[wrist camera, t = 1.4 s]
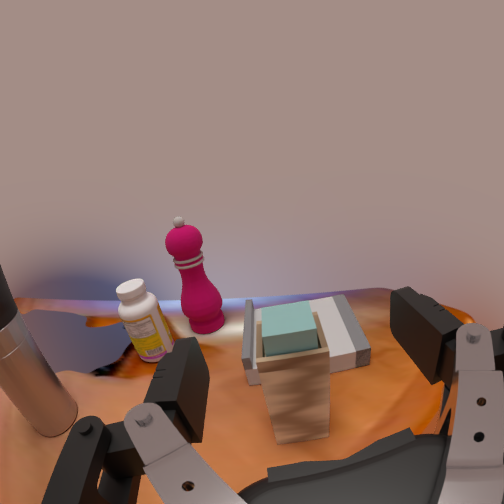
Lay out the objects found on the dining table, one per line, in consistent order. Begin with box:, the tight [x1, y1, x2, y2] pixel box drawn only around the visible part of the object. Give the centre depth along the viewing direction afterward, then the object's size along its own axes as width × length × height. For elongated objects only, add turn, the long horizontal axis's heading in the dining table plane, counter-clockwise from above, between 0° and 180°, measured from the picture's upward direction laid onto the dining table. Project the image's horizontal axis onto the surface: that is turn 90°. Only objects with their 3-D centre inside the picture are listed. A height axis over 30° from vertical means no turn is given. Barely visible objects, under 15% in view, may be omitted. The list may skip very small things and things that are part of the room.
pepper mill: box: [165, 217, 225, 334], centre depth 46 cm, size 7×7×20 cm
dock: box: [242, 294, 371, 385], centre depth 39 cm, size 16×14×5 cm
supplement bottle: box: [116, 279, 174, 362], centre depth 41 cm, size 7×7×13 cm
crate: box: [256, 312, 330, 445], centre depth 24 cm, size 6×6×13 cm
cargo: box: [261, 301, 318, 357], centre depth 22 cm, size 4×4×3 cm
